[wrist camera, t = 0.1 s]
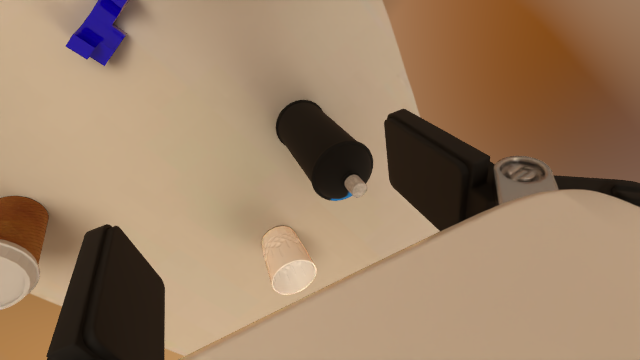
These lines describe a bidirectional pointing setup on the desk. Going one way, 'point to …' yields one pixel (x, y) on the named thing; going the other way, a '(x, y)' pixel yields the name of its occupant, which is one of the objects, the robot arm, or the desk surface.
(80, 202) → the desk surface
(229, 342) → the robot arm
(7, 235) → the disposable coffee cup
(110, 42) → the cable holder
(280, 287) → the white cup
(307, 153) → the aerosol can
